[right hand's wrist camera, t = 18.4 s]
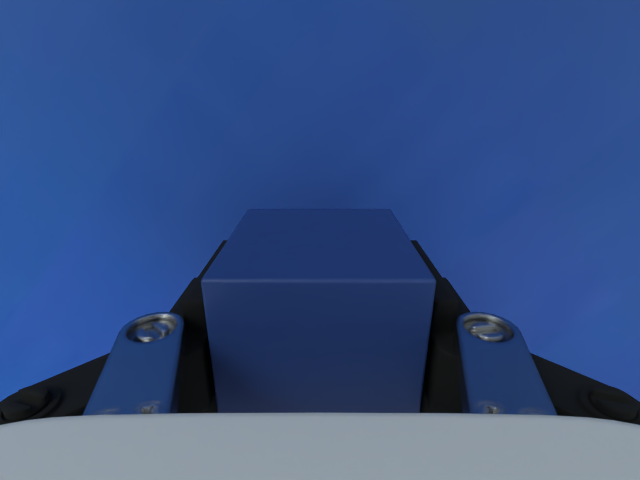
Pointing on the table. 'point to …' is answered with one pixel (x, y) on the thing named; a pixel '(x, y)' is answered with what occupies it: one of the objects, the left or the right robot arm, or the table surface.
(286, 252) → the brick
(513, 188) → the table surface
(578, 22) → the table surface
